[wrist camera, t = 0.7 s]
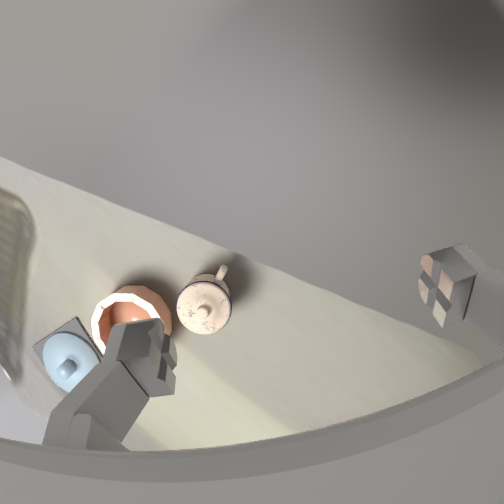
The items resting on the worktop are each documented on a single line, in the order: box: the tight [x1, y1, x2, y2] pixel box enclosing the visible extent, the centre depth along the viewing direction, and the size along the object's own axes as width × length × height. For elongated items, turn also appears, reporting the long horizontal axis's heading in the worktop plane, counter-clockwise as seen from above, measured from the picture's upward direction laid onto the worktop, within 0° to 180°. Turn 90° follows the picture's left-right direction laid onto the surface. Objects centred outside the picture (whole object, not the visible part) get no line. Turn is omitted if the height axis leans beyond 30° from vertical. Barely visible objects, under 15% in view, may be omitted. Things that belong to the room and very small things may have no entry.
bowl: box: [91, 285, 172, 354], centre depth 56 cm, size 14×14×7 cm
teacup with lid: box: [176, 265, 232, 334], centre depth 54 cm, size 12×9×12 cm
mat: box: [32, 317, 103, 396], centre depth 59 cm, size 16×16×1 cm
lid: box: [43, 332, 100, 392], centre depth 56 cm, size 15×15×5 cm
